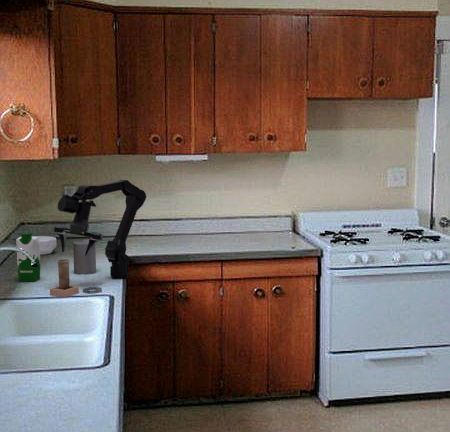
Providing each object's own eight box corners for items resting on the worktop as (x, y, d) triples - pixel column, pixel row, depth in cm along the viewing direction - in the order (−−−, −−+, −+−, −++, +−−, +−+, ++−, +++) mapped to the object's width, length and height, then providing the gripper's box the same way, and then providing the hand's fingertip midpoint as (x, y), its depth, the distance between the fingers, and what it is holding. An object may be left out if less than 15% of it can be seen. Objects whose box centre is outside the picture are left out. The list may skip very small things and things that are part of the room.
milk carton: (16, 282, 269) (13, 234, 266) (22, 277, 278) (20, 231, 275) (37, 282, 269) (35, 234, 267) (42, 277, 278) (41, 231, 276)
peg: (69, 292, 251) (67, 259, 250) (71, 294, 248) (70, 260, 246) (57, 293, 250) (56, 259, 248) (59, 295, 246) (58, 261, 244)
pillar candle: (72, 271, 291) (71, 237, 289) (94, 269, 294) (93, 236, 292) (75, 275, 282) (74, 241, 280) (98, 273, 285) (97, 240, 283)
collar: (63, 290, 254) (63, 284, 253) (78, 293, 250) (78, 286, 250) (49, 295, 247) (49, 288, 247) (65, 297, 243) (64, 290, 243)
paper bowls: (58, 254, 331) (58, 239, 330) (27, 257, 326) (27, 241, 325) (54, 250, 345) (54, 235, 344) (25, 252, 340) (24, 237, 339)
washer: (101, 288, 257) (101, 286, 257) (102, 292, 250) (102, 290, 250) (82, 289, 255) (82, 287, 255) (83, 293, 249) (83, 291, 248)
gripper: (54, 210, 254) (46, 249, 252) (102, 218, 254) (94, 258, 253) (60, 212, 265) (52, 249, 264) (105, 220, 265) (98, 258, 264)
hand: (74, 254), depth 261 cm, fingers open, 9 cm apart
